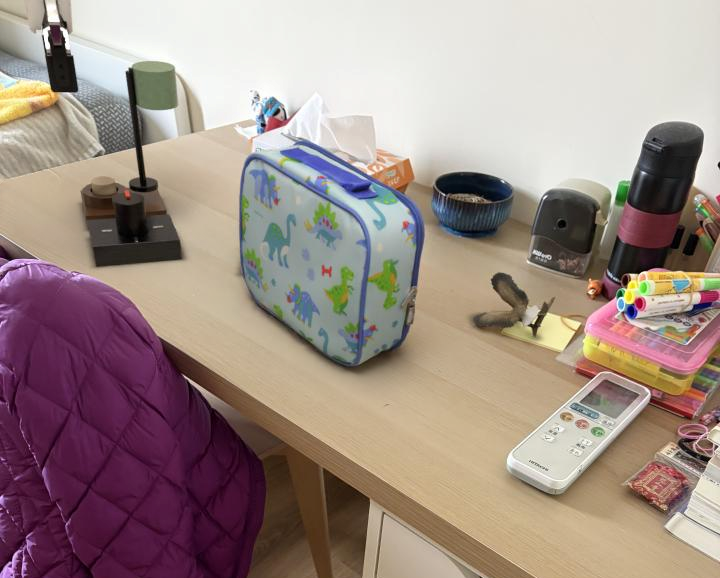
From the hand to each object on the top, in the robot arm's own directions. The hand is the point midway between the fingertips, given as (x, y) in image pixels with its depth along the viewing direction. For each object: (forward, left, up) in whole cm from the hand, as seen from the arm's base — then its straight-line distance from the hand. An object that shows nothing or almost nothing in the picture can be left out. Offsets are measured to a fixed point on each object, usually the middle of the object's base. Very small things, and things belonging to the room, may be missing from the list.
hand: (62, 80), depth 92 cm
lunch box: (+26, -31, -22) cm, 46 cm away
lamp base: (+6, +9, -22) cm, 24 cm away
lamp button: (+3, +9, -18) cm, 20 cm away
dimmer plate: (+6, -4, -22) cm, 23 cm away
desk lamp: (+11, +9, -18) cm, 23 cm away
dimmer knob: (+6, -4, -19) cm, 20 cm away
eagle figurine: (+51, -37, -22) cm, 66 cm away
